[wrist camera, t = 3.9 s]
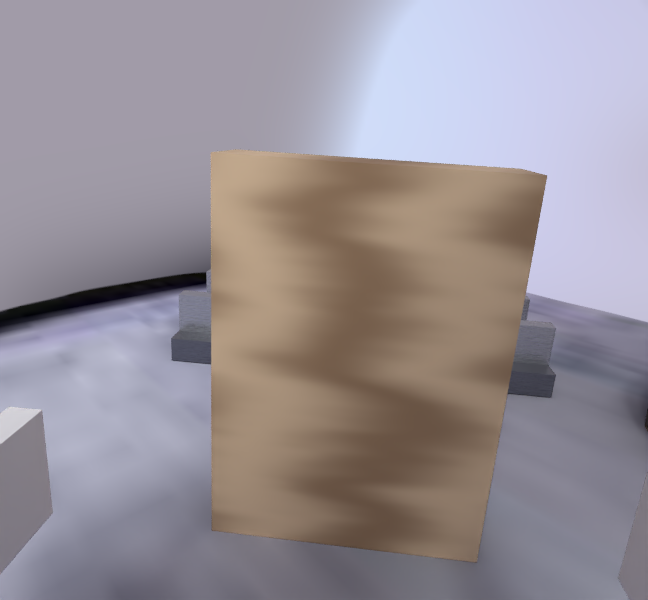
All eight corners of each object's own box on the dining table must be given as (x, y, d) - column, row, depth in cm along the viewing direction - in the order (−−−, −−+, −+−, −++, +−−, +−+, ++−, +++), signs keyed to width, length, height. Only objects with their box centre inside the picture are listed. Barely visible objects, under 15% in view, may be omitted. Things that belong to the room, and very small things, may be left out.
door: (462, 502, 23) (518, 168, 19) (476, 562, 20) (547, 175, 16) (234, 476, 24) (238, 149, 20) (211, 530, 21) (210, 152, 16)
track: (512, 338, 43) (521, 290, 41) (551, 397, 33) (563, 336, 32) (216, 311, 44) (216, 264, 43) (171, 360, 35) (170, 301, 34)
